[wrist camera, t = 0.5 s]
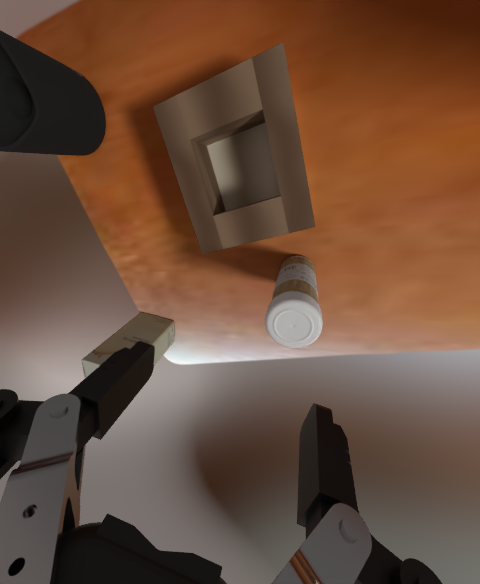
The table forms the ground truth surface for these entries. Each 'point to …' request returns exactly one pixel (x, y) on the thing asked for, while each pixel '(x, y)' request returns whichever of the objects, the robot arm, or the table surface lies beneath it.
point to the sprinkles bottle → (295, 305)
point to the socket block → (239, 154)
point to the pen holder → (45, 104)
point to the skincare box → (133, 339)
